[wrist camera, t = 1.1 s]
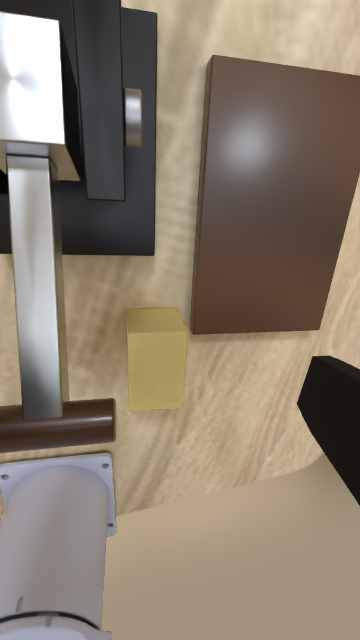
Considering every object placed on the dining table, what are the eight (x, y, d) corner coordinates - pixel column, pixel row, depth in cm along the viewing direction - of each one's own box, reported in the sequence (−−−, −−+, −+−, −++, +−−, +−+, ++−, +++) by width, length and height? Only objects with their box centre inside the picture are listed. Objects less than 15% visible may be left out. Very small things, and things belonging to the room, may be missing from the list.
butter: (174, 373, 20) (183, 407, 17) (128, 376, 20) (128, 411, 17) (177, 307, 18) (188, 331, 15) (126, 308, 18) (126, 333, 15)
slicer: (152, 252, 17) (177, 302, 9) (3, 249, 15) (-127, 307, 7) (154, 27, 13) (203, -242, 5) (-45, -4, 12) (-421, -448, 4)
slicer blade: (117, 422, 10) (114, 460, 8) (-5, 432, 10) (-47, 478, 7) (107, 92, 9) (100, 24, 7) (-32, 76, 9) (-93, -5, 6)
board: (311, 324, 21) (319, 330, 20) (189, 328, 19) (192, 335, 18) (369, 85, 15) (384, 78, 14) (206, 63, 14) (212, 53, 13)
